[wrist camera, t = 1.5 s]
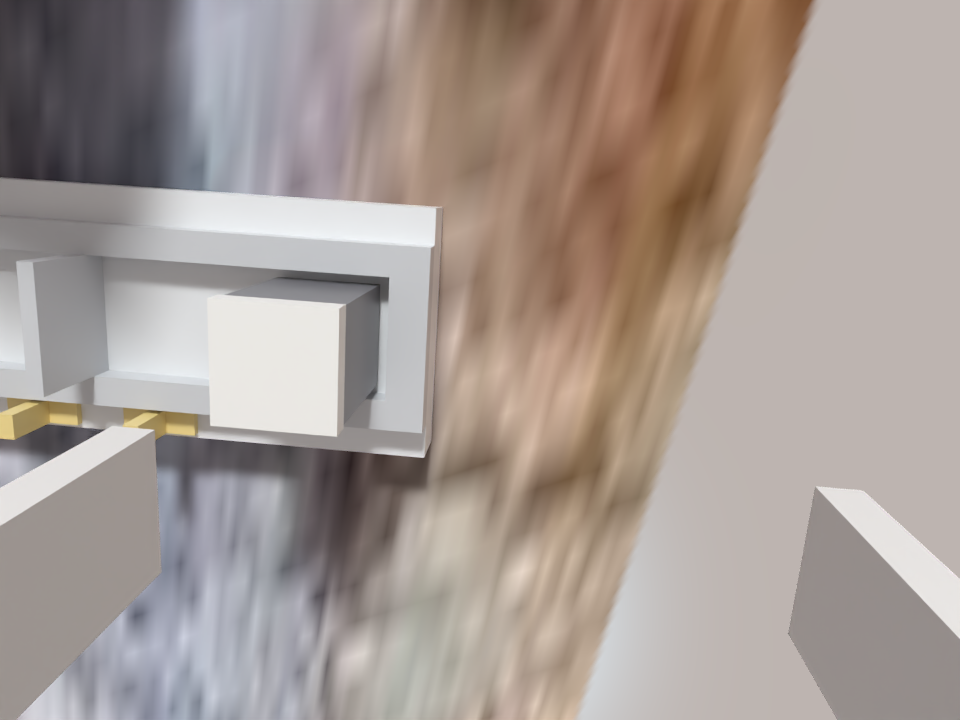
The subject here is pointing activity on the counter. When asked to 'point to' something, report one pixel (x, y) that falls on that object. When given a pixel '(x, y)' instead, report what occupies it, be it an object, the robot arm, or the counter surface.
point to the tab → (292, 354)
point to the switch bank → (197, 304)
